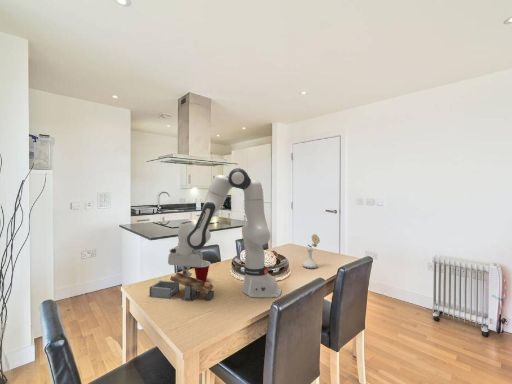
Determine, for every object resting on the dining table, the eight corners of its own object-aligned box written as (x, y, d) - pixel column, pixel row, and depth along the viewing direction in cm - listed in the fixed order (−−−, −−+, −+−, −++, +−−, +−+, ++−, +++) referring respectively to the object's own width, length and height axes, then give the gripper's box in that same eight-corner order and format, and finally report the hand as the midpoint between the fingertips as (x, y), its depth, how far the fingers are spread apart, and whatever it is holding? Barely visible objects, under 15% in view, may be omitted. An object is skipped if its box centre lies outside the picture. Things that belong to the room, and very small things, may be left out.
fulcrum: (200, 292, 143) (200, 279, 143) (192, 301, 133) (192, 287, 132) (190, 291, 145) (190, 278, 144) (181, 300, 134) (181, 286, 134)
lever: (216, 283, 147) (217, 279, 147) (207, 294, 133) (208, 289, 133) (182, 271, 151) (183, 267, 151) (169, 280, 137) (170, 276, 137)
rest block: (213, 296, 139) (213, 290, 139) (210, 300, 134) (210, 294, 134) (209, 296, 139) (209, 290, 139) (206, 300, 134) (206, 294, 134)
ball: (210, 287, 138) (211, 281, 138) (208, 289, 135) (209, 284, 135) (204, 286, 139) (205, 280, 139) (202, 288, 136) (203, 282, 135)
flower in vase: (306, 270, 185) (306, 235, 184) (299, 265, 196) (300, 232, 195) (322, 268, 188) (323, 235, 187) (315, 264, 199) (315, 232, 199)
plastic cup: (197, 286, 152) (197, 266, 152) (190, 281, 161) (190, 262, 161) (213, 282, 159) (213, 263, 158) (205, 277, 167) (205, 259, 167)
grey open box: (178, 290, 145) (179, 282, 145) (169, 298, 136) (169, 289, 135) (159, 289, 148) (159, 280, 148) (149, 296, 138) (149, 287, 138)
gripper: (205, 249, 147) (204, 273, 148) (172, 247, 151) (172, 270, 151) (200, 252, 141) (200, 276, 141) (166, 249, 145) (166, 273, 145)
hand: (185, 273), depth 147 cm, fingers closed
